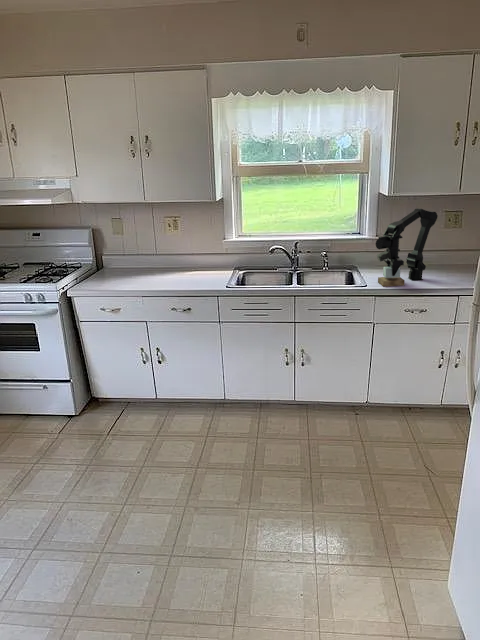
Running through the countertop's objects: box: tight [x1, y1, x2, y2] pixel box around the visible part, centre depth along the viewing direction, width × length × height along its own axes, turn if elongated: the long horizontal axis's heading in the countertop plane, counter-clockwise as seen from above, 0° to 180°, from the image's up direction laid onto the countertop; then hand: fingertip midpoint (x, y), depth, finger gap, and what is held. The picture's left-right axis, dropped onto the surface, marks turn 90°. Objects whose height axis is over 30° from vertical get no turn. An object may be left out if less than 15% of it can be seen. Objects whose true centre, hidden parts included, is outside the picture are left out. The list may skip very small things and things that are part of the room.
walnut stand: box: [377, 276, 406, 288], centre depth 269 cm, size 12×9×3 cm
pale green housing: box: [382, 266, 401, 278], centre depth 267 cm, size 6×8×6 cm
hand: (391, 274), depth 268 cm, fingers closed on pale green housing, 5 cm apart
